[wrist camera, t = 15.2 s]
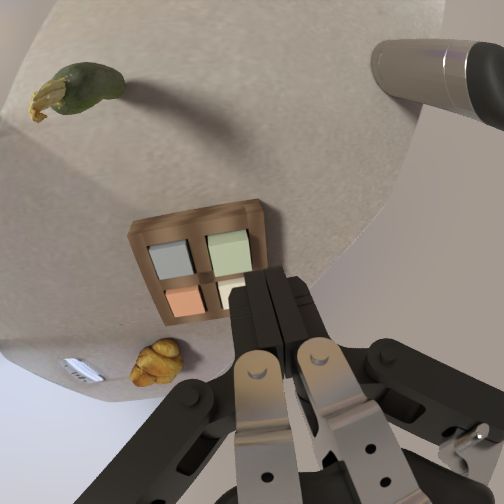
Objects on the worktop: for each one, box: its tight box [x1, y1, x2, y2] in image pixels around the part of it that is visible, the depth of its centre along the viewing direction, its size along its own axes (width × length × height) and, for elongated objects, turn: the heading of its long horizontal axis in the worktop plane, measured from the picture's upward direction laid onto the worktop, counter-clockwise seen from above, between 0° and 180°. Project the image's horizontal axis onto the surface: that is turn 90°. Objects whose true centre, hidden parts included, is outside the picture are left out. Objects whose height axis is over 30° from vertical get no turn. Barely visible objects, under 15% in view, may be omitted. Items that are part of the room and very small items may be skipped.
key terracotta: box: [166, 285, 205, 317], centre depth 42 cm, size 5×5×3 cm
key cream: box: [218, 277, 245, 310], centre depth 42 cm, size 5×5×3 cm
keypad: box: [127, 199, 268, 326], centre depth 41 cm, size 18×18×4 cm
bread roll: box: [130, 339, 184, 387], centre depth 51 cm, size 13×10×8 cm
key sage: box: [208, 229, 252, 277], centre depth 37 cm, size 5×5×3 cm
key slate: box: [149, 239, 194, 280], centre depth 37 cm, size 5×5×3 cm
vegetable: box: [28, 62, 126, 123], centre depth 17 cm, size 4×4×20 cm
